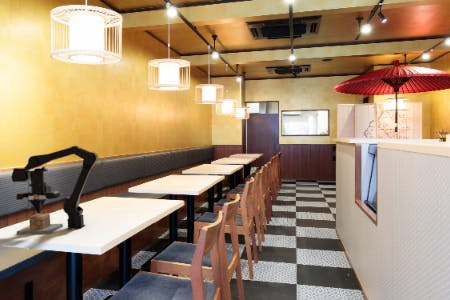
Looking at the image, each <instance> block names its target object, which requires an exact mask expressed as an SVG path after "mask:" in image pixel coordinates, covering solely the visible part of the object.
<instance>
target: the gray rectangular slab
mask: <svg viewBox="0 0 450 300" xmlns="http://www.w3.org/2000/svg"><path fill="white" fill-rule="evenodd" d="M63 226H64V224H63V223H50V226H48V227H46V228H44V229H30V225H28V226H25V227H23V228H21V229H19V230H16V235H43V234H44V235H46V234H48V235H49V234H52V233H54V232H56V231H58V230H59V229H62V228H63Z"/></svg>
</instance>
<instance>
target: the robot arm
mask: <svg viewBox="0 0 450 300" xmlns="http://www.w3.org/2000/svg"><path fill="white" fill-rule="evenodd" d="M72 155H75V156H77V157H78V158H80V159H82V166H81V167H82V168H81V171H80V174H79V175H78V178H77V180H76V183H75V185H74V188H73V190H72V192H71V195H68V196H66V197H65V200H64V203H63V204H62V209H63V211H64V213H65V214H66V215H67V228H66V229H67V230H81V229H83V228H84V227H85V226H86V224H85V223H84V222H85V220H84V214H83V213H84V208H82V207H81V206H80V201H81V194H82V192H83V190H84V188H85V185H86V183H87V180H88V179H89V178H88V177H89V175H90V172H91V170H92V169H93V167H95V164H97V162H98V161H99V155H98V154H97V153H96V152H95V151H88V149H87V150H86V149H84V148H81V147H79V146H78V145H73V146H69V147H67V148H64V149H60V150H56V151H54V152H51V153H45V154H37V155H32V156H29V158H28V160H27V164H26V165H25V166H24V167H20V168H19V167H15V168H13V169H12V170H13V171H12V173H11V181H12V182H13V183H27V182H28V181H29V180H30V183H29V184H28V186H29V187H30V191H31V192H30V191H23V192H19V193H16V196H15V200H17V201H19V200H23V199H24V198H25V199H26V198H28V199H27V201H28V202H30V204H31V205H32V206H33V208H34V209H35V211H36V212H37V213H36V214H42V213H41V212H42V209H43V207H44V204H45V202H46V200H53V199H57V198H59V197H60V198H61V196H60V195H61V193H60V192H59V190H58V191H57V190H56V191H55V190H53V191H52V186H50V185H47V183H46V182H45V177H44V175H45V173H44V172H48V171H49V169H48V168H46V167H45V166H44V165H47V164H48V163H50V162H52V161H55V160H59V159H62V158H65V157H68V156H72ZM41 166H42V167H41ZM39 167H40V168H39Z"/></svg>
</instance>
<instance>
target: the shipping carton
mask: <svg viewBox="0 0 450 300" xmlns="http://www.w3.org/2000/svg"><path fill="white" fill-rule="evenodd" d="M28 220H29V226H30V229H44V228H46V227H48V226H50V224H51V214H50V213H36V214H33V215H31V216H28Z"/></svg>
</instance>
